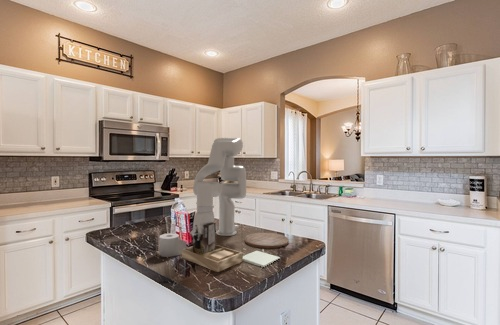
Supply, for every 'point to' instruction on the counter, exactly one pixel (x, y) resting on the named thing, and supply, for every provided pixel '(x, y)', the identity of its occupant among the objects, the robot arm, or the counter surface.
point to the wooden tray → (209, 263)
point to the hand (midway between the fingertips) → (204, 246)
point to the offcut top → (221, 255)
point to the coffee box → (206, 240)
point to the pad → (260, 258)
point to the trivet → (266, 240)
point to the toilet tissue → (170, 245)
